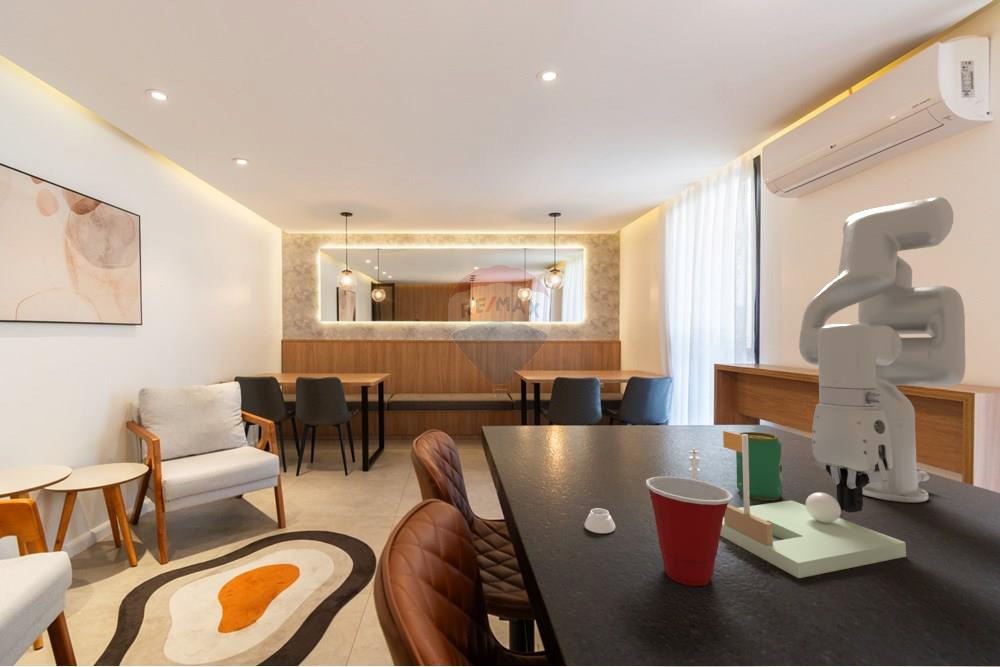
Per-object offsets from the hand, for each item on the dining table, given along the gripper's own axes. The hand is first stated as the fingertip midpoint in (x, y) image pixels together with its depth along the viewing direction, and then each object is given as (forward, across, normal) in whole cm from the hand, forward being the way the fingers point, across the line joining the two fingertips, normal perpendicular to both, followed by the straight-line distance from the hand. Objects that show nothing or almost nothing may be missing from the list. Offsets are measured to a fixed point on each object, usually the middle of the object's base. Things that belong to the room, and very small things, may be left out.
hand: (849, 509), depth 72 cm
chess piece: (+4, +20, +14) cm, 25 cm away
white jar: (+4, +13, +39) cm, 41 cm away
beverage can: (+3, +18, 0) cm, 19 cm away
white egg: (-1, 0, +6) cm, 6 cm away
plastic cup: (+4, -4, +35) cm, 35 cm away
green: (+4, 0, +12) cm, 12 cm away
